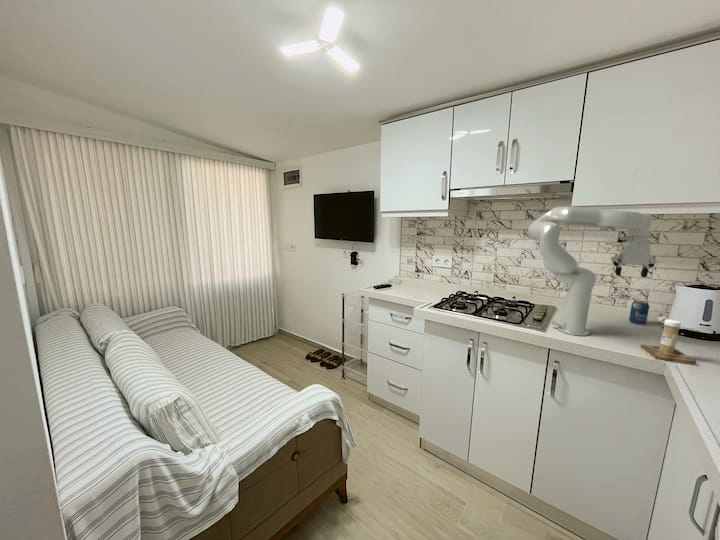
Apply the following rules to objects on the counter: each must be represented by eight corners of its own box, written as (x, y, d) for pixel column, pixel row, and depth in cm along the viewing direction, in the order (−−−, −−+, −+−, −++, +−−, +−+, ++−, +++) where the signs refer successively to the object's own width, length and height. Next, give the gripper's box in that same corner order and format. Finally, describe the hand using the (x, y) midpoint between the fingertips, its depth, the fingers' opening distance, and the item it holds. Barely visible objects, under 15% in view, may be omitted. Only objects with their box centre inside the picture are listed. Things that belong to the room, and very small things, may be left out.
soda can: (636, 325, 159) (640, 303, 157) (625, 320, 166) (628, 299, 164) (649, 325, 159) (653, 303, 157) (637, 321, 166) (641, 300, 164)
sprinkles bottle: (655, 349, 125) (661, 318, 123) (665, 349, 126) (671, 318, 123) (667, 354, 121) (674, 322, 118) (677, 354, 121) (684, 322, 119)
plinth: (655, 359, 120) (656, 354, 119) (640, 347, 131) (640, 342, 130) (695, 365, 116) (696, 359, 115) (675, 352, 127) (676, 347, 126)
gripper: (617, 239, 140) (611, 276, 143) (665, 241, 134) (658, 279, 137) (610, 238, 147) (605, 273, 150) (656, 240, 141) (649, 276, 144)
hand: (630, 276), depth 143 cm, fingers open, 9 cm apart
